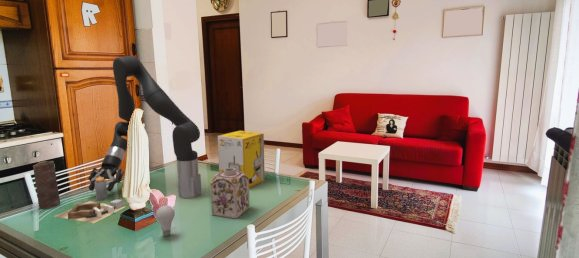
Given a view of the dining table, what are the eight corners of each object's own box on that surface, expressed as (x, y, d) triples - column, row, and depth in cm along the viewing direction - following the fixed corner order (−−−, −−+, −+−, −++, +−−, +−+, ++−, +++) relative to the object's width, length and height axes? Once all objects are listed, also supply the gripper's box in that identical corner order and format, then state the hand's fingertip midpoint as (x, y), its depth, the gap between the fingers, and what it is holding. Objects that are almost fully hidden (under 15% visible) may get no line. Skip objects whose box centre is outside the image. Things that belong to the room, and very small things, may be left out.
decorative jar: (250, 207, 142) (249, 166, 139) (237, 219, 131) (235, 174, 128) (225, 204, 146) (223, 163, 143) (210, 215, 135) (208, 171, 132)
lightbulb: (160, 231, 122) (158, 202, 120) (177, 231, 122) (175, 202, 120) (155, 240, 116) (152, 210, 114) (173, 239, 116) (171, 209, 114)
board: (126, 208, 142) (126, 206, 142) (94, 225, 127) (93, 223, 127) (89, 203, 148) (89, 201, 148) (54, 218, 133) (53, 216, 133)
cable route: (126, 206, 142) (126, 200, 141) (99, 220, 129) (98, 214, 128) (112, 204, 144) (112, 198, 143) (84, 218, 131) (84, 211, 130)
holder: (100, 207, 141) (100, 202, 140) (93, 216, 132) (92, 211, 132) (77, 209, 139) (76, 204, 138) (68, 218, 130) (67, 213, 130)
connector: (110, 199, 152) (107, 177, 150) (102, 203, 148) (99, 180, 146) (102, 198, 153) (100, 176, 151) (94, 202, 149) (91, 179, 147)
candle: (49, 212, 139) (42, 165, 135) (34, 210, 140) (27, 164, 137) (64, 204, 146) (59, 160, 143) (50, 203, 148) (44, 159, 144)
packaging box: (264, 180, 176) (263, 133, 172) (244, 190, 163) (242, 139, 158) (240, 175, 185) (239, 130, 180) (219, 184, 171) (217, 135, 167)
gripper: (95, 153, 156) (79, 186, 147) (124, 154, 154) (110, 187, 145) (104, 161, 162) (89, 193, 153) (131, 162, 160) (118, 194, 151)
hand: (99, 190), depth 149 cm, fingers open, 8 cm apart
